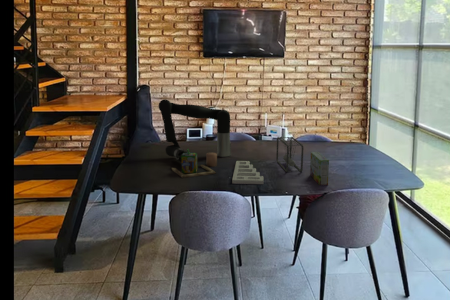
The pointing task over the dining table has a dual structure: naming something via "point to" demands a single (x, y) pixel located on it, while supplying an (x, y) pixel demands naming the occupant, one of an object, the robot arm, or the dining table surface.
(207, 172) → the tan flat bent strip
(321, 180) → the snack box
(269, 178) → the dining table surface
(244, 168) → the holder
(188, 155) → the chalk box
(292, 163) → the newton's cradle
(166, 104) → the robot arm
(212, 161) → the wooden block
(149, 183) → the dining table surface
